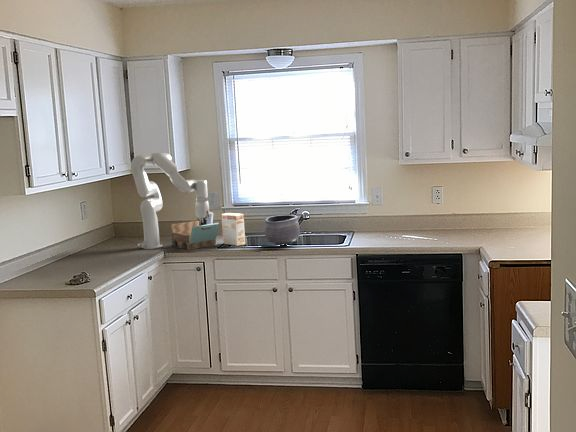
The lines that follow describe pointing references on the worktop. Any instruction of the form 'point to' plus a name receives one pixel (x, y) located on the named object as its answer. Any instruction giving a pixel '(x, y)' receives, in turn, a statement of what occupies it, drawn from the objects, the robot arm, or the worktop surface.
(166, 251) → the worktop surface
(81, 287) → the worktop surface
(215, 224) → the tailgate
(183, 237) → the shelf
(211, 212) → the moka pot
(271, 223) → the tea bowl
